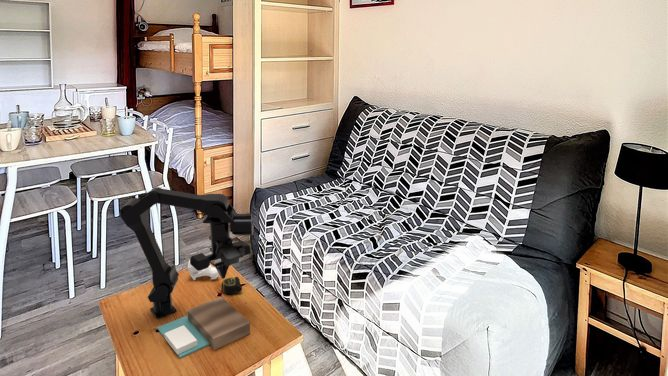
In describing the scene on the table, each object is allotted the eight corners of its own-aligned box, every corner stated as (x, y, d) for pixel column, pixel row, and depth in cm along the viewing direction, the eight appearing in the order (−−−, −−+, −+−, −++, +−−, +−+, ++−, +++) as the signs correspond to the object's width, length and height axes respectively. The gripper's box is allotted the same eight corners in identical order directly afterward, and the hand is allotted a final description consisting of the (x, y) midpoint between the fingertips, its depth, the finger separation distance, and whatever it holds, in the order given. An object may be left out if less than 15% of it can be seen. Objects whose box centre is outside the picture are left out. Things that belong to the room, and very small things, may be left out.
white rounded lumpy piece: (193, 251, 166) (222, 258, 165) (193, 271, 169) (222, 277, 168) (185, 259, 161) (215, 266, 159) (185, 279, 163) (215, 285, 162)
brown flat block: (188, 320, 140) (186, 310, 139) (222, 306, 148) (221, 296, 147) (214, 350, 128) (213, 338, 126) (250, 333, 135) (249, 322, 134)
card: (183, 325, 134) (184, 330, 135) (164, 333, 130) (165, 338, 131) (196, 340, 128) (197, 345, 129) (176, 348, 124) (177, 354, 125)
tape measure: (242, 294, 156) (242, 285, 155) (222, 297, 154) (222, 288, 152) (239, 284, 162) (239, 275, 161) (220, 287, 160) (220, 278, 158)
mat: (157, 328, 136) (157, 327, 136) (188, 316, 143) (188, 315, 142) (180, 358, 124) (179, 356, 124) (212, 343, 131) (212, 341, 130)
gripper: (203, 252, 126) (207, 299, 131) (259, 235, 138) (261, 278, 143) (187, 239, 134) (191, 283, 139) (241, 223, 145) (243, 265, 151)
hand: (222, 278), depth 143 cm, fingers closed
